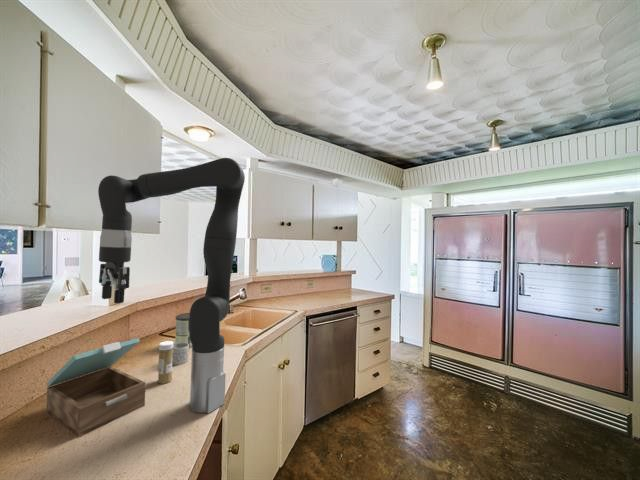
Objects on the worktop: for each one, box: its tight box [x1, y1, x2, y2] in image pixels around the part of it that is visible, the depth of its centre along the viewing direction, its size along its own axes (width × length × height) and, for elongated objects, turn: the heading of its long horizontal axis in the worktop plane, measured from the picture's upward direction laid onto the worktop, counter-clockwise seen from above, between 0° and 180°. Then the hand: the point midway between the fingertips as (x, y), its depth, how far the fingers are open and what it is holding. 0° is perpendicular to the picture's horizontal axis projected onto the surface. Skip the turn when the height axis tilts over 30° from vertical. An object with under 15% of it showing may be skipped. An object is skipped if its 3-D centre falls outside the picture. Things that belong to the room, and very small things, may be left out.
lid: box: [46, 337, 141, 388], centre depth 83 cm, size 21×16×2 cm
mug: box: [172, 343, 190, 366], centre depth 113 cm, size 10×7×7 cm, turn 160°
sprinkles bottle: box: [157, 340, 174, 385], centre depth 99 cm, size 5×5×14 cm
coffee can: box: [174, 312, 192, 349], centre depth 133 cm, size 10×10×14 cm
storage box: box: [46, 366, 146, 438], centre depth 82 cm, size 21×16×7 cm
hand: (112, 300), depth 82 cm, fingers open, 8 cm apart
